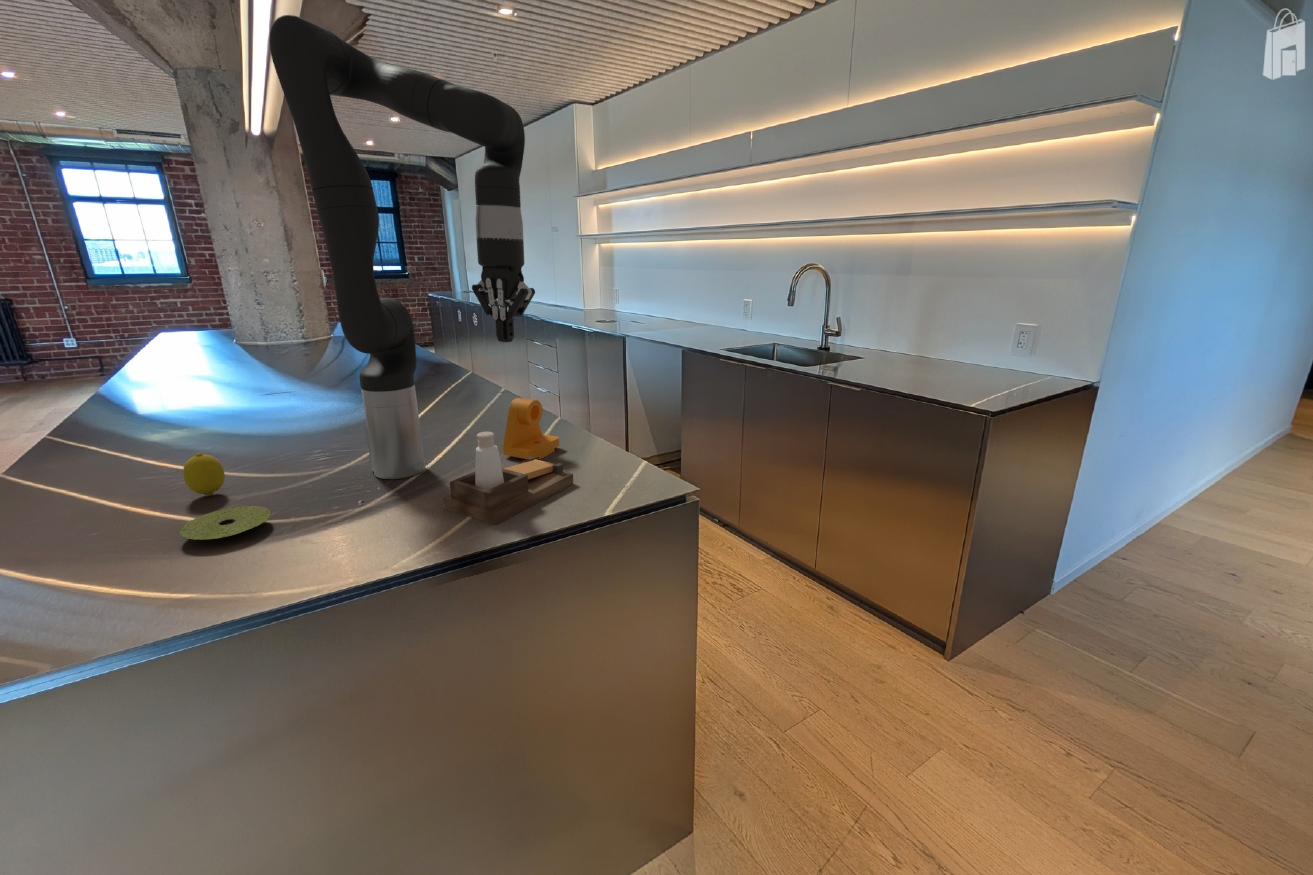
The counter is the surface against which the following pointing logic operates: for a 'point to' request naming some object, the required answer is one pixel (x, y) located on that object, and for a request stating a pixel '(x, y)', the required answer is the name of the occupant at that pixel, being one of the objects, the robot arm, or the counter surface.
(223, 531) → the green abrasive disc
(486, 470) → the salt shaker
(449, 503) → the brown open tray piece
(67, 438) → the counter surface
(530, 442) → the bracket
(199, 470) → the lemon
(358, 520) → the counter surface
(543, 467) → the tan flat block
